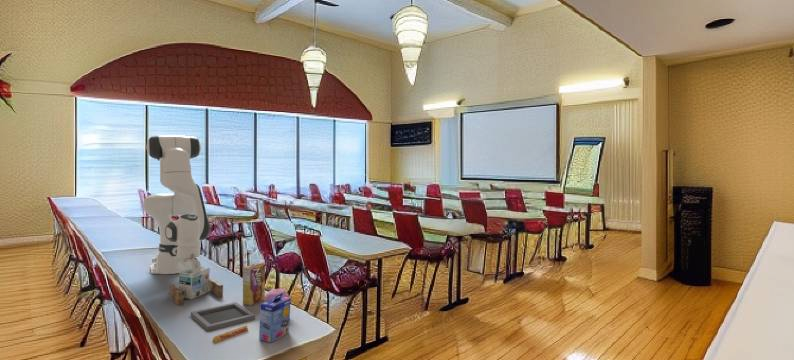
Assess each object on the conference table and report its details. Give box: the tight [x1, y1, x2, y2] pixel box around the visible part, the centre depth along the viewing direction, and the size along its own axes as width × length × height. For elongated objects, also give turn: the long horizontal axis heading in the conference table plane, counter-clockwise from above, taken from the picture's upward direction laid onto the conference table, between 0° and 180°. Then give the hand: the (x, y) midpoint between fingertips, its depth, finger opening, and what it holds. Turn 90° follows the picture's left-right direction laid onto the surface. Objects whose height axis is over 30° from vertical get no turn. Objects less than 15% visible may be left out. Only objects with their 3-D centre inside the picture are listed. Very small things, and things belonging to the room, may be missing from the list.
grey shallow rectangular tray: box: [190, 301, 257, 332], centre depth 151 cm, size 17×17×2 cm
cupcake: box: [263, 288, 290, 302], centre depth 155 cm, size 9×9×10 cm
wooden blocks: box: [169, 278, 224, 306], centre depth 171 cm, size 12×17×5 cm
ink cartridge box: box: [258, 293, 292, 344], centre depth 137 cm, size 10×6×14 cm, turn 159°
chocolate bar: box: [212, 324, 249, 344], centre depth 136 cm, size 3×12×2 cm, turn 146°
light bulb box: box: [178, 266, 211, 300], centre depth 173 cm, size 11×7×11 cm, turn 166°
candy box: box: [242, 262, 266, 306], centre depth 168 cm, size 9×4×15 cm, turn 158°
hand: (188, 283), depth 178 cm, fingers closed
